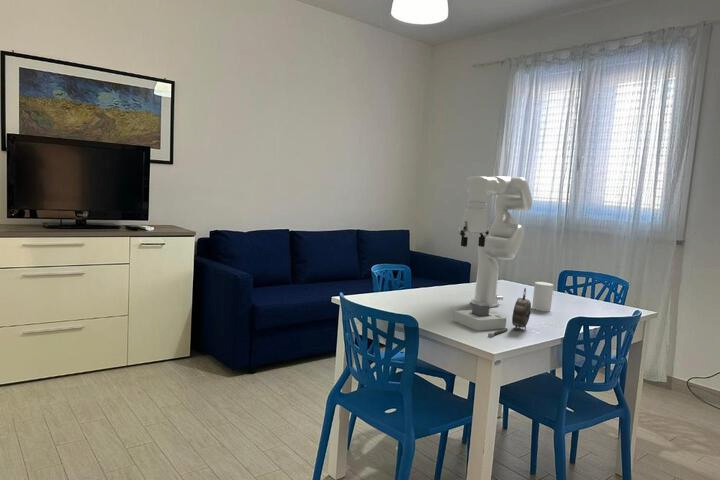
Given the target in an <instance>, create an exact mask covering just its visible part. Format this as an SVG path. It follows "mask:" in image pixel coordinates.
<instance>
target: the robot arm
mask: <svg viewBox="0 0 720 480" xmlns="http://www.w3.org/2000/svg"><path fill="white" fill-rule="evenodd" d="M464 185H465V189H466V192H467V193H468V197H467V198H468V199H467V208H465V210H464V213H463V218H462V221H461V222H462V223H460V224H459V225H458V226H457V229H458V233H459V235H460V238H461V240H460V246H461V247H463V248H465V247H468V235H469V234H479V237H478V242H477V253H478V255H477V257H478V259H477V260H478V261H477V272H476V283H475V293H474V298H472V299H470V303H471V304H472V305H473V303H483V304H486V305H490V306H489V308H495V307H496V308H497V307H498V306H499V305H500V304H499V302H498V301H503V299H504V296H503V295H498V294H497V290H498V282H499V281H498V279H499V272H500V267H499V263H498V261H497V259H500V260H508V261H509V260H510V261H511V260H513V259H515V257H516V255H517V254H518V252H519V249H520V247H521V245H522V243H523V241H524V237H525V229H524V227H523V226H522V225H521V224H518V223H514V218H513V216H512V214H511V213H510V212H509V211H515V212H529V211H530V210H531V208H532V206H533V197H532V193H531V189H530V186H529V183H528V181H527V180H526V178H524V177H521V176H503V175H502V176H500V175H499V176H497V175H490V176H488V175H487V176H485V175H482V176H479V175H478V176H476V175H474V176H473V175H471V176H469V177H468V178H467V179H466V180H465V183H464ZM493 195H494V196H496V198H495V219H494V221H493V222H492V224H491V226H489V225H488V220H487V219H488V216H487V215H488V214H487V207H488V204H487V199H488V198H487V197H488V196H493Z"/></svg>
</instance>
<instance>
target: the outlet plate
mask: <svg viewBox="0 0 720 480" xmlns="http://www.w3.org/2000/svg"><path fill="white" fill-rule="evenodd" d="M453 312H454V313H453V322H455V323H458V324H461V325H463V326H465V327H468V328H471V329H473V330H475V331H488V330H499V329H500V330H502V329H505V328H506V327H507V325H506V323H507V317H505V316H502V315H500V314H496V313H493V312H490V311H489V316H486V317H478V316H476V315H473V314H472V309H467V310H466V309H462V310H454V311H453Z"/></svg>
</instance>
